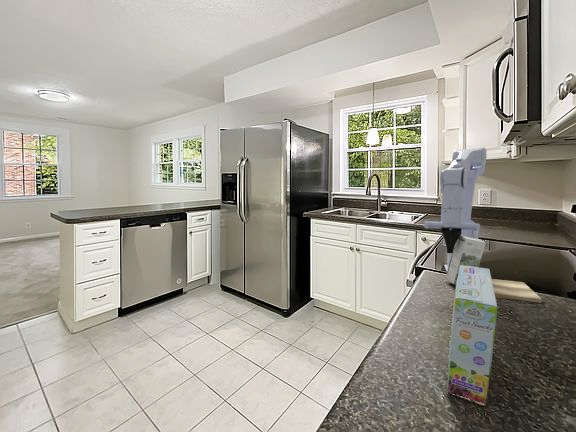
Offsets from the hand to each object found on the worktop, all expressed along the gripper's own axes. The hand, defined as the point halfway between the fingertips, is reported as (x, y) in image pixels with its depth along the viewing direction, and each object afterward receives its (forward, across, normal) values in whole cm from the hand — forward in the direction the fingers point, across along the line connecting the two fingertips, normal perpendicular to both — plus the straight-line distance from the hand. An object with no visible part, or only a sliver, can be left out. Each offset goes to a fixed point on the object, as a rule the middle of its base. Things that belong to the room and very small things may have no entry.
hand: (449, 252), depth 89 cm
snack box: (+10, -1, -44) cm, 45 cm away
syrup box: (+10, +3, 0) cm, 10 cm away
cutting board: (+10, +14, 0) cm, 17 cm away
